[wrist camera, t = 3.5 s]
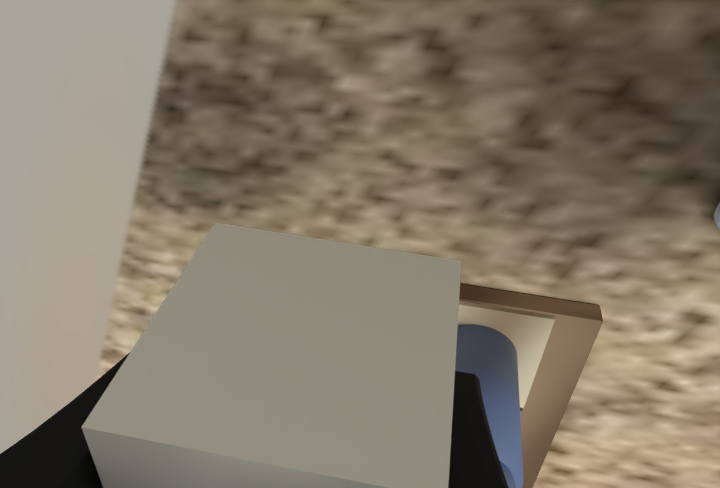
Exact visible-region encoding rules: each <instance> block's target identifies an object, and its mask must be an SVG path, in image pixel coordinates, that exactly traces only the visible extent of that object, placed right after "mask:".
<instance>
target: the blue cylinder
mask: <svg viewBox="0 0 720 488" xmlns="http://www.w3.org/2000/svg"><path fill="white" fill-rule="evenodd" d="M455 371H460V372H465V373H471V374H475V375H476V376H477V377H478V378H479V380H480V388H481V393H482V398H483V403H484V408H485V412H486V416H487V420H488V424H489V427H490V431H491V434H492V438H493V442H494V445H495V448H496V451H497V455H498V458H499V461H500V464H501V466H502V469H503V472H504V475H505V478H506V481H507V484H508V487H509V488H522V486H523V460H522V440H521V421H520V401H519V381H518V362H517V351H516V349H515V346H514V345H513V343H512V342H511V340H510V339H509V338H508V337H507V336H505V335H504V334H502V333H501V332H499V331H497V330H495V329H493V328H490V327H487V326H482V325H475V324H465V325H458V328H457V346H456V363H455Z"/></svg>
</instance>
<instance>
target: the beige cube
mask: <svg viewBox="0 0 720 488" xmlns="http://www.w3.org/2000/svg"><path fill="white" fill-rule="evenodd" d="M460 277H461V261H458V260H452V259H445V258H439V257H433V256H426V255H420V254H414V253H407V252H401V251H394V250H388V249H382V248H375V247H369V246H363V245H356V244H350V243H344V242H337V241H331V240H325V239H318V238H312V237H306V236H299V235H293V234H286V233H280V232H274V231H267V230H261V229H255V228H248V227H242V226H236V225H229V224H223V223H217V222H215V224H214V225H213V227H212V228H211V230H210V231H209V233H208V234H207V236H206V237H205V239H204V240H203V242H202V244H201V245H200V247H199V248H198V250H197V251H196V253H195V254H194V256H193V257H192V259H191V260H190V262H189V263H188V265H187V266H186V268H185V269H184V271H183V273H182V274H181V276H180V277H179V279H178V280H177V282H176V283H175V285H174V286H173V288H172V289H171V291H170V292H169V294H168V295H167V297H166V298H165V300H164V302H163V303H162V305H161V306H160V308H159V309H158V311H157V312H156V314H155V315H154V317H153V318H152V320H151V321H150V323H149V324H148V326H147V328H146V329H145V331H144V332H143V334H142V335H141V337H140V338H139V340H138V341H137V343H136V344H135V346H134V347H133V349H132V350H131V352H130V353H129V355H128V357H127V358H126V360H125V361H124V363H123V364H122V366H121V367H120V369H119V370H118V372H117V373H116V375H115V376H114V378H113V379H112V381H111V382H110V384H109V386H108V387H107V389H106V390H105V392H104V393H103V395H102V396H101V398H100V399H99V401H98V402H97V404H96V405H95V407H94V408H93V410H92V412H91V413H90V415H89V416H88V418H87V419H86V421H85V422H84V424H83V425H82V427H81V428H82V430H83V433H84V436H85V439H86V441H87V444H88V447H89V450H90V452H91V455H92V458H93V461H94V463H95V466H96V469H97V472H98V475H99V477H100V480H101V483H102V486H103V488H448V484H449V467H450V450H451V432H452V415H453V398H454V380H455V363H456V346H457V328H458V311H459V294H460Z"/></svg>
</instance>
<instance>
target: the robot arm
mask: <svg viewBox="0 0 720 488" xmlns="http://www.w3.org/2000/svg"><path fill="white" fill-rule="evenodd" d="M714 220H715V223H716V225H717V227H718V228H719V229H720V202H719V204H718V206H717V208H716V210H715V213H714ZM128 355H129V353H128V354H127V355H126V356H125V357H124V358H123V359H122V360H120V361H119V362H118V363H117V364H116V365H115V366H114V367H112V368H111V369H110V370H109V371H108V372H107V373H105V374H104V375H103V376H102V377H101V378H99V379H98V380H97V381H96V382H95V383H93V384H92V385H91V386H90V387H89V388H87V389H86V390H85V391H84V392H83V393H81V394H80V395H79V396H78V397H76V398H75V399H74V400H73V401H72V402H70V403H69V404H68V405H66V406H65V407H64V408H62V409H61V410H60V411H58V412H57V413H56V414H55V415H53V416H52V417H51V418H49V419H48V420H47V421H45V422H44V423H43V424H41V425H40V426H39V427H38V428H36V429H35V430H34V431H32V432H31V433H29V434H28V435H27V436H25V437H24V438H23V439H21V440H20V441H18V442H17V443H16V444H14V445H13V446H11V447H10V448H8V449H7V450H5V451H4V452H3V453H1V454H0V488H103V486H102V483H101V480H100V477H99V475H98V472H97V469H96V466H95V463H94V461H93V458H92V455H91V452H90V450H89V447H88V444H87V441H86V439H85V436H84V433H83V430H82V428H81V427H82V425H83V424H84V422H85V421H86V419H87V418H88V416H89V415H90V413H91V412H92V410H93V408H94V407H95V405H96V404H97V402H98V401H99V399H100V398H101V396H102V395H103V393H104V392H105V390H106V389H107V387H108V386H109V384H110V382H111V381H112V379H113V378H114V376H115V375H116V373H117V372H118V370H119V369H120V367H121V366H122V364H123V363H124V361H125V360H126V358H127V357H128ZM448 488H509V487H508V484H507V481H506V478H505V475H504V472H503V469H502V466H501V464H500V461H499V458H498V455H497V451H496V448H495V445H494V442H493V438H492V434H491V431H490V427H489V424H488V420H487V416H486V412H485V408H484V403H483V398H482V393H481V388H480V380H479V378H478V377H477V376H476V375H475V374H471V373H465V372H460V371H455V380H454V398H453V415H452V432H451V450H450V467H449V484H448Z"/></svg>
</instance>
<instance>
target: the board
mask: <svg viewBox="0 0 720 488" xmlns="http://www.w3.org/2000/svg"><path fill="white" fill-rule="evenodd" d="M602 323H603V319H602V314H601V310H600V306H599V305H592V304H586V303H580V302H573V301H567V300H560V299H554V298H548V297H541V296H535V295H528V294H522V293H515V292H509V291H503V290H496V289H490V288H483V287H477V286H470V285H464V284H460V294H459V311H458V325H465V324H475V325H482V326H487V327H490V328H493V329H495V330H497V331H499V332H501V333H502V334H504V335H505V336H507V337H508V338H509V339H510V340H511V342H512V343H513V345H514V346H515V349H516V351H517V362H518V381H519V401H520V421H521V440H522V460H523V486H522V488H532V487H533V485H534V483H535V480H536V478H537V476H538V473H539V471H540V469H541V466H542V464H543V462H544V459H545V457H546V454H547V452H548V450H549V447H550V445H551V443H552V440H553V438H554V436H555V433H556V431H557V429H558V426H559V424H560V421H561V419H562V417H563V414H564V412H565V410H566V407H567V405H568V403H569V400H570V398H571V396H572V393H573V391H574V389H575V386H576V384H577V381H578V379H579V377H580V374H581V372H582V370H583V367H584V365H585V363H586V360H587V358H588V356H589V353H590V351H591V348H592V346H593V344H594V341H595V339H596V337H597V334H598V332H599V330H600V327H601V325H602Z"/></svg>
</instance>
